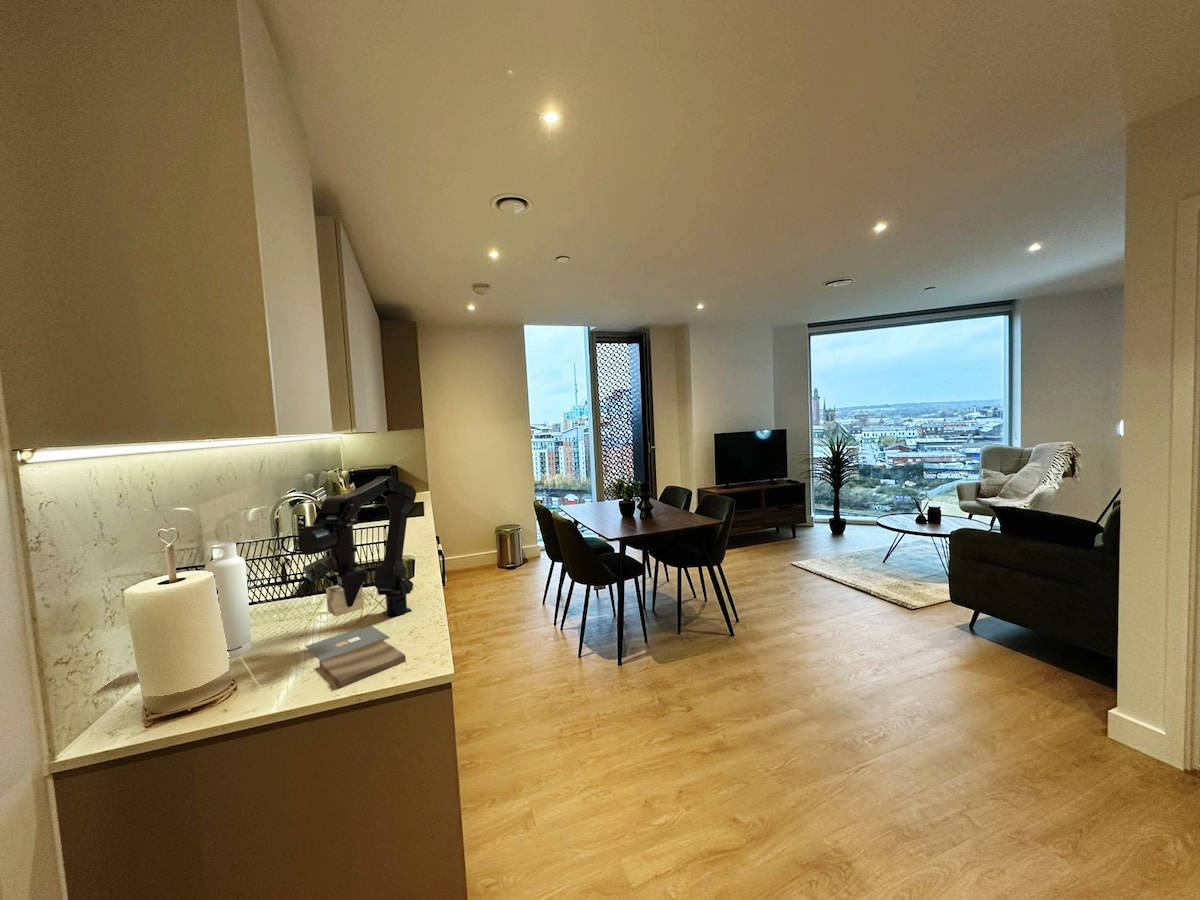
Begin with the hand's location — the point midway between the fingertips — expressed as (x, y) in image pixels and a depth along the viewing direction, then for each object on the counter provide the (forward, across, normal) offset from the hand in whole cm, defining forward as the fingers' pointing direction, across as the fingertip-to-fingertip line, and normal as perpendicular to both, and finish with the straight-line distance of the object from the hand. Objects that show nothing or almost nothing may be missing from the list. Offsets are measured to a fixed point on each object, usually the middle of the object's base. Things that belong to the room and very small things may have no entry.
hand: (345, 603), depth 116 cm
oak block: (+2, 0, 0) cm, 2 cm away
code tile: (+10, 0, 0) cm, 10 cm away
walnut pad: (+10, +16, -2) cm, 19 cm away
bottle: (+11, -20, -21) cm, 31 cm away
